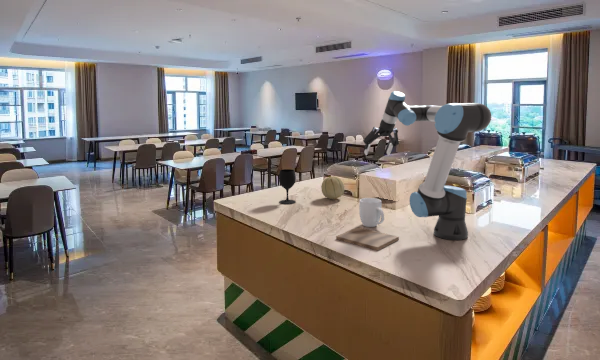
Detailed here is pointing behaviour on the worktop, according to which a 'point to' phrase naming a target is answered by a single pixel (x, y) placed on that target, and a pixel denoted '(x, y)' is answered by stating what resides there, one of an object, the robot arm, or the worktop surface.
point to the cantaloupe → (332, 187)
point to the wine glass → (287, 183)
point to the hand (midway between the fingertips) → (376, 154)
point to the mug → (371, 211)
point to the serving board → (367, 238)
